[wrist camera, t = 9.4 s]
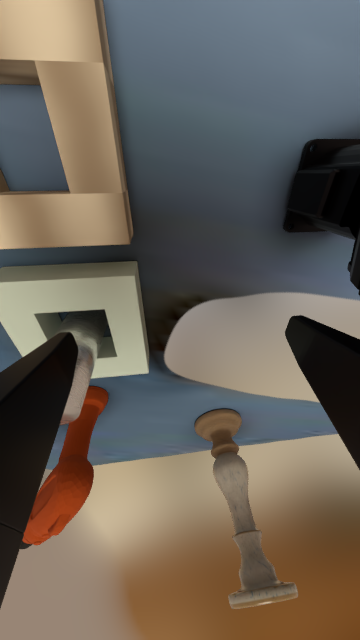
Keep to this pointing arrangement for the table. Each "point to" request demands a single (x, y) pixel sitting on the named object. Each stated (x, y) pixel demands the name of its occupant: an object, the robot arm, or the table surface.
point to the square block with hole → (78, 309)
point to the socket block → (67, 125)
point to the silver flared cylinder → (83, 354)
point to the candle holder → (241, 513)
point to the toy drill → (67, 476)
